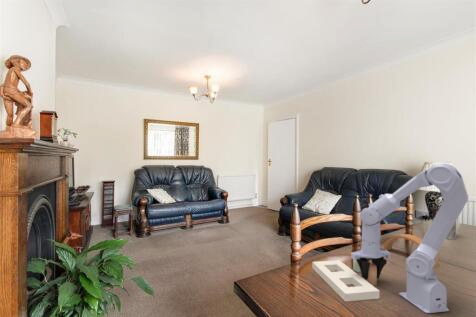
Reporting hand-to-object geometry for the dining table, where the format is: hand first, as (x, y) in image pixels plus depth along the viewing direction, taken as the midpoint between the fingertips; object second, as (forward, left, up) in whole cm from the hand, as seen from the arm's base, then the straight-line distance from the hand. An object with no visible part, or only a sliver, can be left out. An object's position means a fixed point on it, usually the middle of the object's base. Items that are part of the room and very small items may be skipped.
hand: (370, 277), depth 83 cm
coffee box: (+38, -78, -2) cm, 87 cm away
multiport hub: (+20, -18, -2) cm, 27 cm away
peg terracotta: (0, 0, -2) cm, 2 cm away
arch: (+16, -33, -2) cm, 37 cm away
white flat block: (+2, +10, -2) cm, 10 cm away
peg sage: (+9, -2, -2) cm, 9 cm away
